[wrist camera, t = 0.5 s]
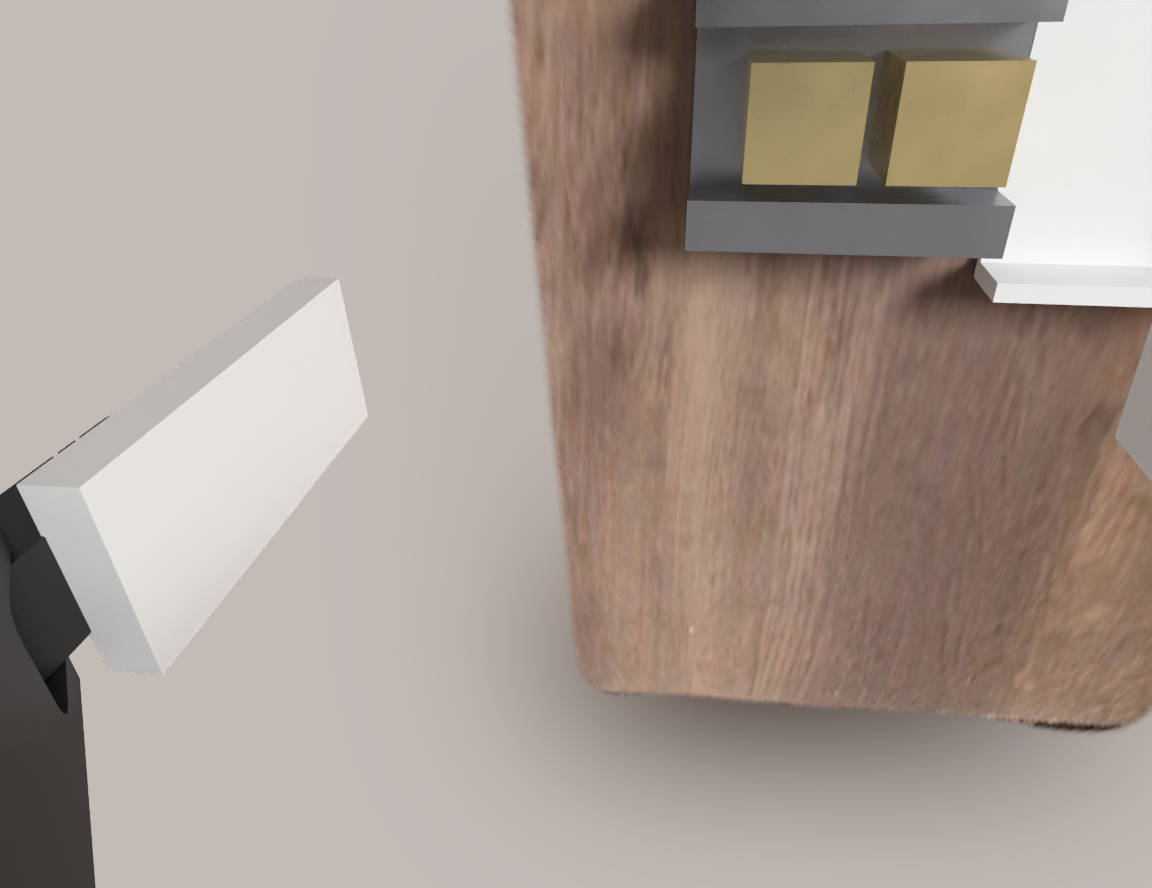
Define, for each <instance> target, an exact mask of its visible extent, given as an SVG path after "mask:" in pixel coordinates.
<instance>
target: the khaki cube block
mask: <svg viewBox="0 0 1152 888" xmlns="http://www.w3.org/2000/svg"><path fill="white" fill-rule="evenodd" d="M1036 63H1037V60H1035V59H1031V58H1028V57H1025V56H1022V55H1019V54H1016V53H1013V52H1010V51H1007V50H1004V49H927V50H886V55H885V62H884V68H883V74H882V81H881V87H880V93H879V100H878V106H877V112H876V119H875V125H874V131H873V138H872V144H871V150H870V157H869V163H870V164H871V166H872V167H873V169H874V170H875V172H876V173H877V175H878V176H879V177H880V179H881V180H882V182H883V183H884V185H885V186H927V187H1006V185H1007V181H1008V177H1009V172H1010V168H1011V164H1012V160H1013V156H1014V152H1015V148H1016V144H1017V140H1018V136H1019V132H1020V128H1021V124H1022V120H1023V116H1024V112H1025V108H1026V104H1027V100H1028V95H1029V91H1030V87H1031V83H1032V79H1033V75H1034V71H1035V67H1036Z"/></svg>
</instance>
